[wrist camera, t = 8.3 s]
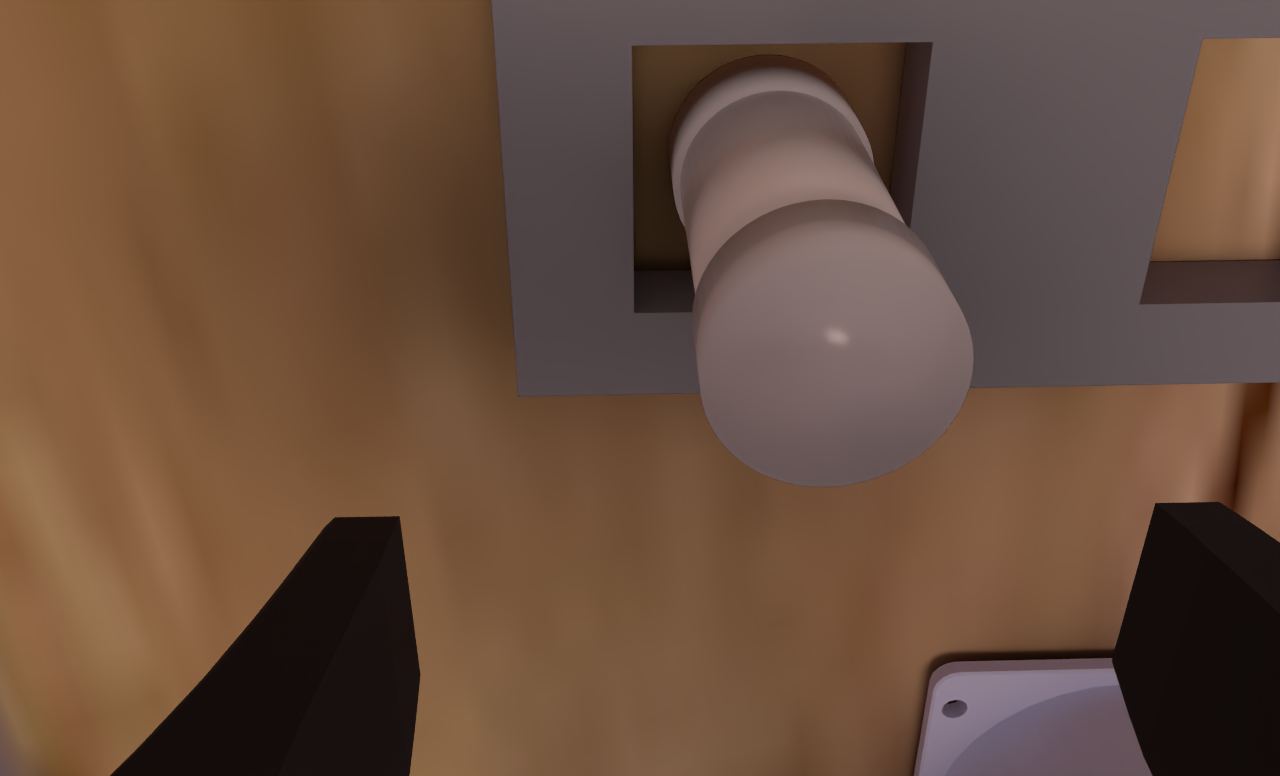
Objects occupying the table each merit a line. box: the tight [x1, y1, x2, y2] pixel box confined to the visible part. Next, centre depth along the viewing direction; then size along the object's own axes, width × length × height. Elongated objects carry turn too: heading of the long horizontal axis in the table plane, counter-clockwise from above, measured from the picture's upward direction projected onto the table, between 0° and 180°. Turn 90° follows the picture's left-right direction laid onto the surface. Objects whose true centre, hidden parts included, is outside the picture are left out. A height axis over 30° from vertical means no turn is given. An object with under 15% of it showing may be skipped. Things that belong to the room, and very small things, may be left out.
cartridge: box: [669, 55, 974, 487], centre depth 16 cm, size 3×3×7 cm
